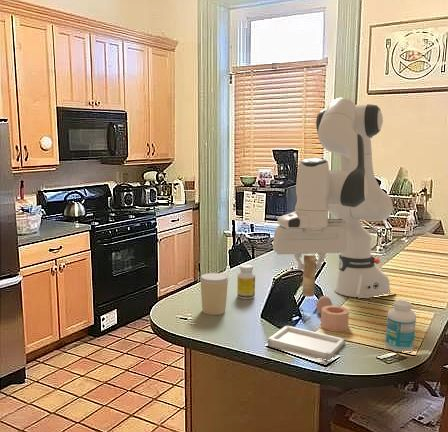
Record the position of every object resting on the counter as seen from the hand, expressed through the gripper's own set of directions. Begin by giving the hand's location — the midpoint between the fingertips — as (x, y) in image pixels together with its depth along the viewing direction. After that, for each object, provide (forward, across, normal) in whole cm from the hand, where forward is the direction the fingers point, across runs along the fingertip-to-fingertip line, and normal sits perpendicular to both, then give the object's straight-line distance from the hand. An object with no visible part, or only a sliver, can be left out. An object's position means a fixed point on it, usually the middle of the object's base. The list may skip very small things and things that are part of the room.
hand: (309, 269), depth 136 cm
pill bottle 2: (+22, -25, +6) cm, 34 cm away
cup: (+22, -13, -11) cm, 28 cm away
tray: (+22, 0, 0) cm, 22 cm away
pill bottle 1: (+22, +7, -45) cm, 51 cm away
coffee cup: (+22, +21, -32) cm, 44 cm away
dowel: (+7, 0, 0) cm, 7 cm away
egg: (+22, -14, -22) cm, 34 cm away
